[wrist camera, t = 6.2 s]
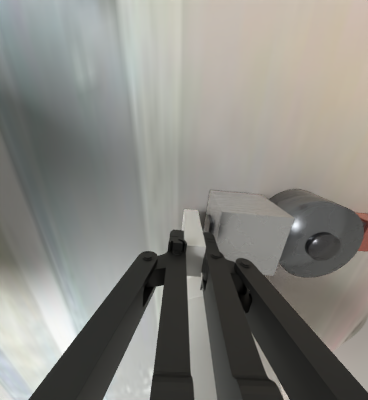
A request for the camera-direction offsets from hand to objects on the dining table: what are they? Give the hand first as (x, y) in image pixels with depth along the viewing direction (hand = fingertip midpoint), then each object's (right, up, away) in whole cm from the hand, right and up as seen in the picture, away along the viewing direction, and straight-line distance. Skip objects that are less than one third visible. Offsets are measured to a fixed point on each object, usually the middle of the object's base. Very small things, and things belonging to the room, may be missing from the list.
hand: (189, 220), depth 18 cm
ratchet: (+15, 0, +3) cm, 15 cm away
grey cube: (+5, 0, +2) cm, 5 cm away
